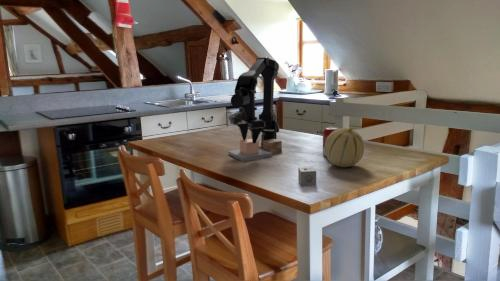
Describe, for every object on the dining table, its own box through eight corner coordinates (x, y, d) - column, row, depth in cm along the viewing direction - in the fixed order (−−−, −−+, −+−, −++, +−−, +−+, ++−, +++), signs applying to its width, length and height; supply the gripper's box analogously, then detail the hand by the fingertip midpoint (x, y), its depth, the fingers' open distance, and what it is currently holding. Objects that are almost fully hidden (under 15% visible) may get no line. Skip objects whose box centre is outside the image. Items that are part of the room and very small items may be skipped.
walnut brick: (274, 149, 179) (274, 138, 178) (281, 151, 174) (281, 140, 173) (263, 151, 177) (263, 140, 175) (270, 153, 171) (270, 142, 170)
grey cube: (298, 181, 132) (298, 167, 131) (313, 181, 132) (313, 166, 131) (301, 186, 127) (301, 171, 126) (316, 185, 127) (316, 170, 126)
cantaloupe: (331, 159, 158) (331, 123, 155) (368, 163, 151) (369, 125, 148) (318, 169, 146) (318, 129, 143) (357, 173, 139) (358, 132, 135)
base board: (256, 150, 178) (256, 146, 178) (271, 156, 166) (271, 153, 166) (228, 154, 172) (228, 151, 172) (242, 161, 160) (242, 157, 160)
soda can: (329, 158, 160) (330, 129, 157) (319, 155, 166) (319, 127, 163) (342, 156, 163) (343, 128, 160) (332, 153, 169) (332, 125, 166)
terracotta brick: (252, 149, 173) (252, 138, 172) (259, 152, 168) (258, 141, 167) (240, 151, 170) (239, 140, 169) (246, 154, 165) (246, 142, 164)
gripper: (221, 104, 169) (223, 140, 172) (240, 109, 153) (241, 148, 156) (244, 102, 174) (245, 137, 177) (265, 106, 158) (266, 144, 161)
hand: (249, 141), depth 168 cm, fingers open, 9 cm apart
